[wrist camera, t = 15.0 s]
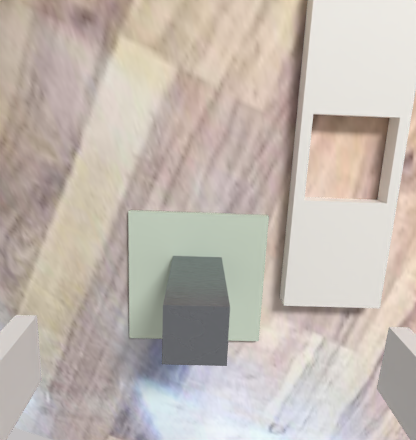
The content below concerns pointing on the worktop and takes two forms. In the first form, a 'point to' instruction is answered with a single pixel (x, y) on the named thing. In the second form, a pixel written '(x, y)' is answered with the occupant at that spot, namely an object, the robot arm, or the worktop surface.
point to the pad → (201, 247)
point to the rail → (359, 107)
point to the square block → (196, 312)
